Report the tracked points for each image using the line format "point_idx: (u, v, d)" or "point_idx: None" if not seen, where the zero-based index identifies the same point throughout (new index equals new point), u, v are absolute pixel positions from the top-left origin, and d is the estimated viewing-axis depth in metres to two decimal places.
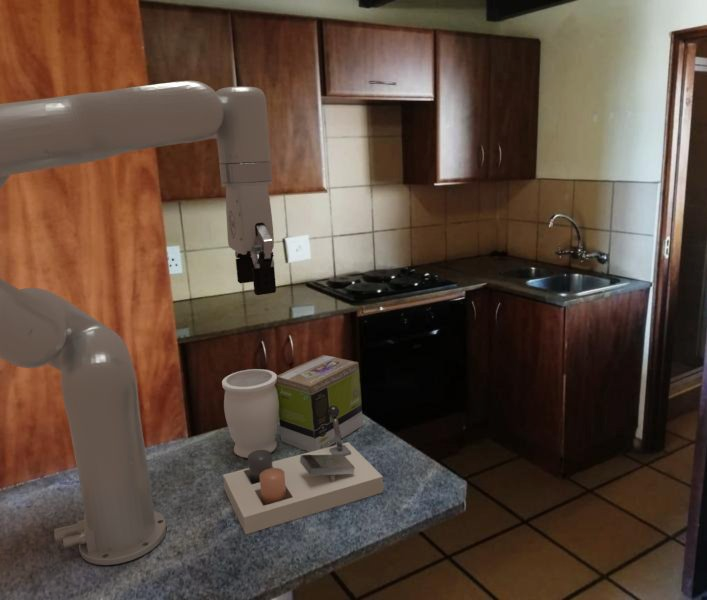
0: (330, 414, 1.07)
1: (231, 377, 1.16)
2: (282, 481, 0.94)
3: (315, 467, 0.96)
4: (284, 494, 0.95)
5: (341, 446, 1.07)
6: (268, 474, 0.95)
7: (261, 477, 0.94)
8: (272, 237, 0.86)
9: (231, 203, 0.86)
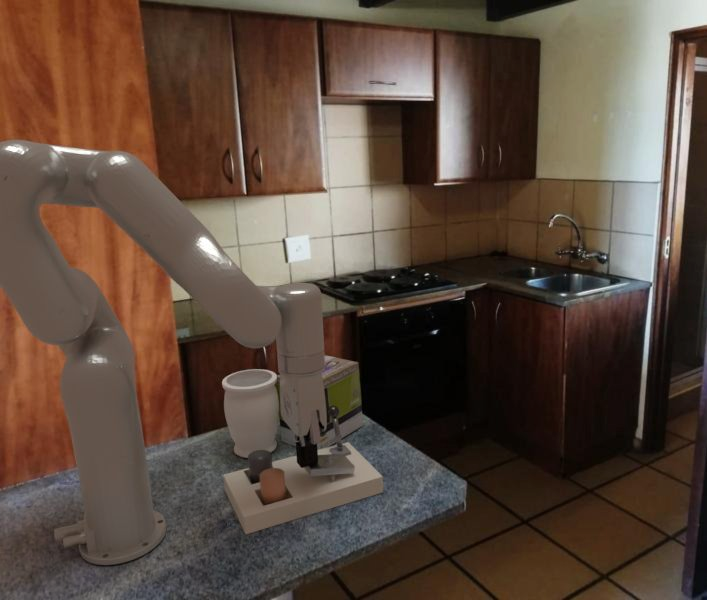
0: (330, 414, 1.07)
1: (231, 377, 1.16)
2: (282, 481, 0.94)
3: (315, 468, 0.96)
4: (284, 494, 0.95)
5: (341, 446, 1.07)
6: (268, 474, 0.95)
7: (261, 477, 0.94)
8: (325, 420, 0.92)
9: (287, 387, 0.93)
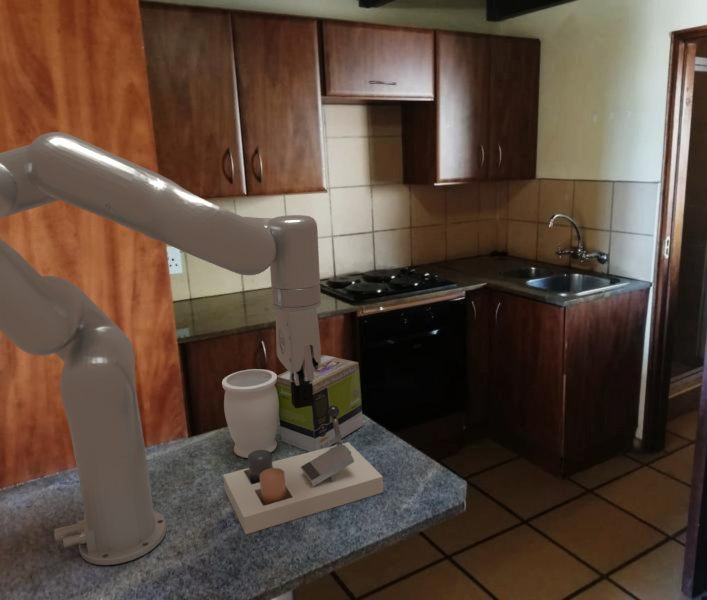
0: (330, 414, 1.07)
1: (231, 377, 1.16)
2: (282, 481, 0.94)
3: (314, 477, 0.97)
4: (284, 494, 0.95)
5: None
6: (268, 474, 0.95)
7: (261, 477, 0.94)
8: (319, 357, 0.90)
9: (281, 323, 0.90)
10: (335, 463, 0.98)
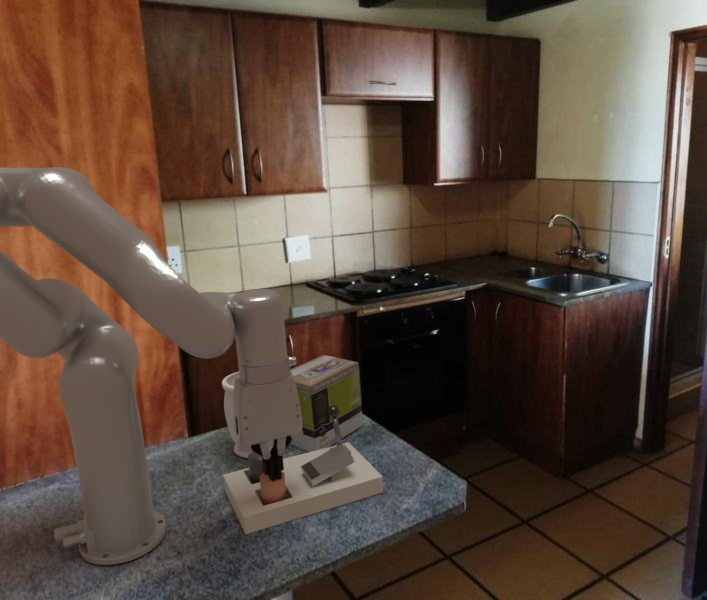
0: (330, 414, 1.07)
1: (231, 377, 1.16)
2: (282, 483, 0.94)
3: (314, 477, 0.97)
4: (284, 496, 0.95)
5: None
6: (268, 476, 0.95)
7: (261, 479, 0.94)
8: (241, 434, 0.89)
9: None
10: (335, 463, 0.98)
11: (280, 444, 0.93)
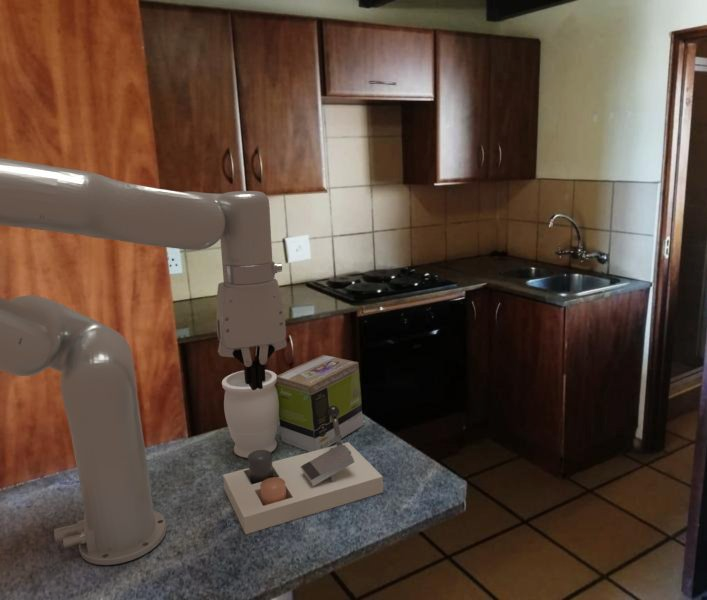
0: (330, 414, 1.07)
1: (231, 377, 1.16)
2: (283, 491, 0.94)
3: (314, 477, 0.97)
4: None
5: None
6: (269, 483, 0.95)
7: (262, 487, 0.94)
8: (222, 337, 0.88)
9: None
10: (335, 463, 0.98)
11: (262, 352, 0.91)
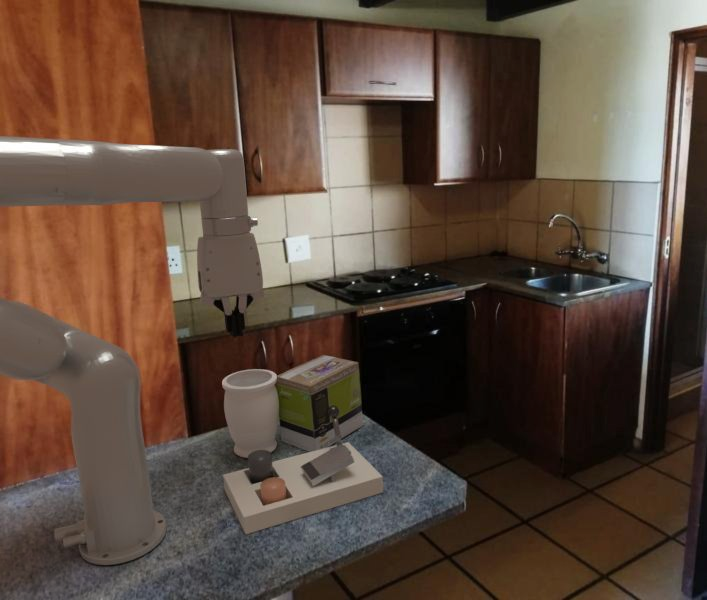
0: (330, 414, 1.07)
1: (231, 377, 1.16)
2: (283, 491, 0.94)
3: (314, 477, 0.97)
4: None
5: None
6: (269, 483, 0.95)
7: (262, 487, 0.94)
8: (203, 286, 0.94)
9: None
10: (335, 463, 0.98)
11: (241, 301, 0.98)
